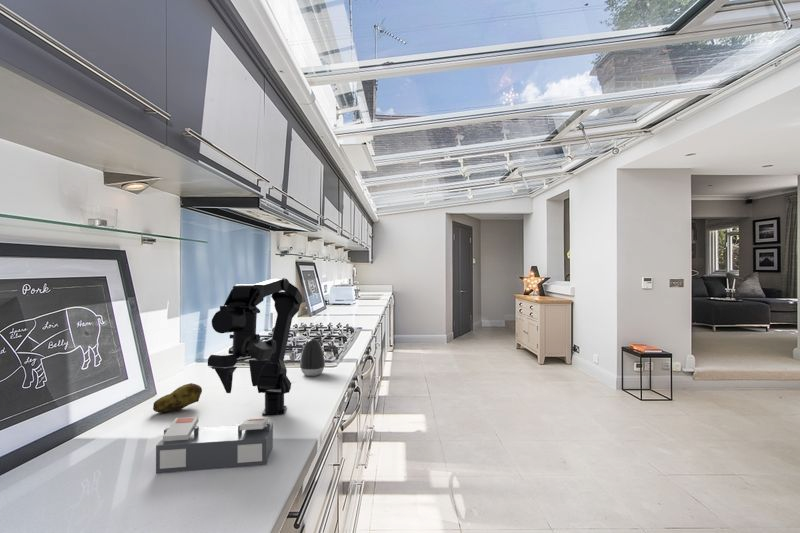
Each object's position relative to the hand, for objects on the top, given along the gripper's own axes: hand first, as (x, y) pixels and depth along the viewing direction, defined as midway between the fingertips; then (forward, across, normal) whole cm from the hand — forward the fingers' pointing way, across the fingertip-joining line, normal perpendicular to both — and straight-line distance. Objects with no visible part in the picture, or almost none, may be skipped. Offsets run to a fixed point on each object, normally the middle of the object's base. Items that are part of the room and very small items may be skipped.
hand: (242, 389), depth 105 cm
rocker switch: (+5, -8, -12) cm, 15 cm away
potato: (+11, +8, +33) cm, 35 cm away
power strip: (+13, -12, -5) cm, 18 cm away
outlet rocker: (+6, -16, +2) cm, 17 cm away
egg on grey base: (+7, +58, +18) cm, 62 cm away
